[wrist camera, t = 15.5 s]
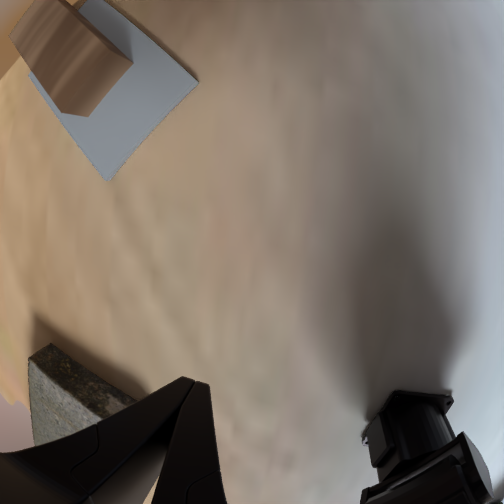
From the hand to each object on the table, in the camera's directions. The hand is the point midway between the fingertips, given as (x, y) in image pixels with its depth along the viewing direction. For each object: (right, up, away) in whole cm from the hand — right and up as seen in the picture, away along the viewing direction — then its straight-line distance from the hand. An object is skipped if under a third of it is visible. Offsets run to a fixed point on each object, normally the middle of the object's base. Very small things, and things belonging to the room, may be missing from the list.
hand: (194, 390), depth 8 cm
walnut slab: (-8, +15, +8) cm, 19 cm away
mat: (-10, +17, +10) cm, 22 cm away
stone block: (-16, -16, +20) cm, 30 cm away
